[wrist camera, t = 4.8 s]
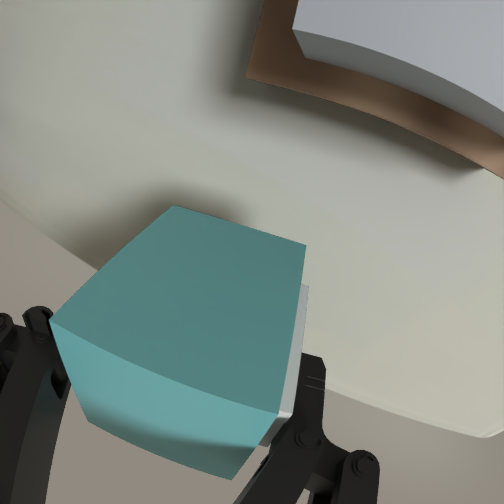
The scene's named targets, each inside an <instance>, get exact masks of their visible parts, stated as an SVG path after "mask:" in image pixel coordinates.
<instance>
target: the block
mask: <svg viewBox="0 0 504 504" xmlns="http://www.w3.org/2000/svg"><path fill="white" fill-rule="evenodd" d="M305 250H306V245H304V244H301V243H298V242H294V241H291V240H288V239H285V238H282V237H278V236H275V235H272V234H269V233H266V232H262V231H259V230H256V229H253V228H249V227H246V226H243V225H239V224H236V223H233V222H230V221H226V220H223V219H220V218H216V217H213V216H210V215H206V214H203V213H199V212H196V211H193V210H189V209H186V208H182V207H179V206H176V205H173V206H171V207H170V208H169V209H168V210H167V211H165V212H164V213H163V214H162V215H161V216H159V217H158V218H157V219H156V220H155V221H153V222H152V223H151V224H150V225H149V226H148V227H146V228H145V229H144V230H143V231H142V232H141V233H140V234H138V235H137V236H136V237H135V238H134V239H133V240H132V241H130V242H129V243H128V244H127V245H126V246H125V247H124V248H123V249H121V250H120V251H119V252H118V253H117V254H116V255H115V256H114V257H113V258H112V259H110V260H109V261H108V262H107V263H106V264H105V265H104V266H103V267H102V268H101V269H100V270H99V271H98V272H97V273H96V274H94V275H93V276H92V277H91V278H90V279H89V280H88V281H87V282H86V283H85V284H84V285H83V286H82V287H81V288H80V289H79V290H78V291H77V292H76V293H75V294H74V295H73V296H72V297H71V298H70V299H69V300H68V301H67V302H66V303H65V304H64V305H63V306H62V307H61V308H60V309H59V310H58V311H57V312H56V313H55V314H54V315H53V316H52V317H51V318H50V319H49V322H50V325H51V329H52V332H53V335H54V338H55V341H56V344H57V347H58V350H59V353H60V356H61V358H62V361H63V364H64V367H65V369H66V372H67V374H68V377H69V379H70V382H71V384H72V387H73V389H74V392H75V394H76V396H77V398H78V400H79V403H80V405H81V407H82V410H83V412H84V414H85V416H86V418H87V420H88V421H89V422H90V423H92V424H94V425H96V426H97V427H100V428H101V429H103V430H105V431H107V432H109V433H111V434H113V435H115V436H117V437H119V438H121V439H123V440H125V441H127V442H129V443H131V444H133V445H136V446H138V447H140V448H142V449H145V450H147V451H149V452H152V453H154V454H156V455H159V456H161V457H164V458H166V459H169V460H171V461H174V462H177V463H179V464H182V465H185V466H187V467H190V468H194V469H196V470H199V471H203V472H205V473H208V474H212V475H215V476H218V477H222V478H225V479H229V480H232V479H233V478H234V476H235V475H236V474H237V472H238V471H239V470H240V468H241V467H242V466H243V464H244V463H245V462H246V460H247V459H248V458H249V456H250V455H251V453H252V452H253V451H254V449H255V448H256V447H257V445H258V444H259V442H260V441H261V439H262V438H263V437H264V435H265V434H266V432H267V431H268V429H269V428H270V426H271V425H272V423H273V422H274V420H275V419H276V417H277V416H278V414H279V409H280V404H281V399H282V394H283V389H284V383H285V378H286V372H287V367H288V361H289V356H290V350H291V344H292V338H293V332H294V326H295V320H296V313H297V307H298V300H299V293H300V287H301V280H302V272H303V265H304V258H305Z"/></svg>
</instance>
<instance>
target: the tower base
mask: <svg viewBox="0 0 504 504" xmlns="http://www.w3.org/2000/svg"><path fill="white" fill-rule="evenodd" d="M298 2H299V0H265V3H264V6H263V10H262V13H261V17H260V21H259V25H258V28H257V32H256V36H255V40H254V43H253V47H252V51H251V55H250V59H249V63H248V67H247V71H246V75H245V78H247V79H251V80H255V81H258V82H262V83H265V84H270V85H274V86H278V87H282V88H286V89H290V90H294V91H298V92H301V93H305V94H308V95H312V96H315V97H319V98H322V99H325V100H329V101H332V102H335V103H338V104H341V105H344V106H347V107H350V108H353V109H356V110H359V111H361V112H364V113H367V114H370V115H372V116H375V117H378V118H380V119H383V120H385V121H388V122H390V123H393V124H395V125H398V126H400V127H402V128H405V129H407V130H409V131H412V132H414V133H416V134H418V135H421V136H423V137H425V138H427V139H429V140H431V141H433V142H436V143H438V144H440V145H442V146H444V147H446V148H448V149H450V150H452V151H454V152H455V153H457V154H459V155H461V156H463V157H465V158H467V159H469V160H470V161H472V162H474V163H476V164H478V165H479V166H481V167H483V168H485V169H486V170H488V171H490V172H492V173H493V174H495V175H497V176H499V177H500V178H502V179H504V138H503V137H501V136H499V135H498V134H496V133H494V132H493V131H491V130H489V129H488V128H486V127H484V126H482V125H481V124H479V123H477V122H475V121H473V120H471V119H470V118H468V117H466V116H464V115H462V114H460V113H458V112H456V111H454V110H452V109H450V108H448V107H446V106H444V105H441V104H439V103H437V102H435V101H433V100H431V99H428V98H426V97H424V96H421V95H419V94H417V93H414V92H412V91H409V90H407V89H404V88H402V87H399V86H397V85H394V84H391V83H388V82H386V81H383V80H380V79H377V78H374V77H371V76H368V75H365V74H362V73H359V72H356V71H352V70H349V69H346V68H342V67H339V66H335V65H331V64H328V63H324V62H320V61H316V60H312V59H307V58H305V56H304V54H303V52H302V49H301V47H300V45H299V43H298V40H297V38H296V36H295V34H294V32H293V30H292V28H293V24H294V19H295V15H296V11H297V6H298Z"/></svg>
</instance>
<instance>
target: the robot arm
mask: <svg viewBox="0 0 504 504" xmlns="http://www.w3.org/2000/svg"><path fill="white" fill-rule="evenodd" d="M308 291H309V286H307V285H303V284H301V287H300V293H299V300H298V307H297V313H296V320H295V326H294V332H293V338H292V344H291V350H290V356H289V361H288V367H287V372H286V378H285V383H284V389H283V394H282V399H281V404H280V409H279V414H278V416H277V417H276V419H275V420H274V422H273V423H272V425H271V426H270V428H269V429H268V431H267V432H266V434H265V435H264V437H263V438H262V439H261V441H260V442H259V444H258V445H261V446H265V447H268V446H269V445H270V443H271V445H270V450H269V454H268V455H267V456H266V457H265V458H264V460H263V461H262V462H261V465H260V466H259V468H258V469H257V471H256V472H255V474H254V475H253V477H252V478H251V480H250V481H249V482H248V484H247V485H246V487H245V488H244V490H243V491H242V492H241V494H240V495H239V496H238V498H237V499H236V501H235V502H234V503H233V504H296V502H297V500H298V498H299V497H300V495H301V493H302V491H303V489H304V488H305V489H307V490H309V491H310V495H309V499H308V503H307V504H377V495H378V486H379V473H380V467H379V462H378V460H377V459H376V457H375V456H374V455H373V454H372V453H370V452H368V451H365V450H356V451H354V452H351V453H350V452H348V451H346V450H344V449H341V448H340V447H338V446H336V445H334V444H333V443H331V442H330V441H329V440H328V439H327V438H326V436H325V435H324V432H323V429H322V418H323V406H324V393H325V392H324V390H325V378H326V368H325V365H324V363H323V360H322V358H320V357H317V356H313V355H309V354H305V353H302V344H303V336H304V327H305V319H306V310H307V300H308ZM22 316H23V319H24V322H25V325H26V327H23V326H19V325H15V324H14V323H13V320H12V318H11V317H10V316H9V315H8V314H6V313H0V504H45V500H46V494H47V488H48V481H49V475H50V469H51V465H52V459H53V454H54V449H55V445H56V441H57V436H58V432H59V427H60V424H61V420H62V416H63V412H64V408H65V405H66V401H67V397H68V394H69V390H70V387H71V382H70V379H69V377H68V374H67V372H66V369H65V367H64V364H63V361H62V358H61V356H60V353H59V350H58V347H57V344H56V341H55V338H54V335H53V332H52V329H51V325H50V322H49V319H50V318H51V317H52V316H53V312H52V311H51V310H50V309H49V308H47V307H44V306H36V307H31V308H30V309H28V310H27V311H25V313H24V314H23V315H22Z"/></svg>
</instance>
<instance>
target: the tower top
mask: <svg viewBox="0 0 504 504" xmlns="http://www.w3.org/2000/svg"><path fill="white" fill-rule="evenodd" d="M292 30H293V32H294V34H295V36H296V38H297V40H298V43H299V45H300V47H301V49H302V52H303V54H304V56H305V58H307V59H312V60H316V61H320V62H324V63H328V64H331V65H335V66H339V67H342V68H346V69H349V70H352V71H356V72H359V73H362V74H365V75H368V76H371V77H374V78H377V79H380V80H383V81H386V82H388V83H391V84H394V85H397V86H399V87H402V88H404V89H407V90H409V91H412V92H414V93H417V94H419V95H421V96H424V97H426V98H428V99H431V100H433V101H435V102H437V103H439V104H441V105H444V106H446V107H448V108H450V109H452V110H454V111H456V112H458V113H460V114H462V115H464V116H466V117H468V118H470V119H471V120H473V121H475V122H477V123H479V124H481V125H482V126H484V127H486V128H488V129H489V130H491V131H493V132H494V133H496V134H498V135H499V136H501V137H503V138H504V0H299V2H298V6H297V11H296V15H295V19H294V24H293V28H292Z"/></svg>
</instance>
